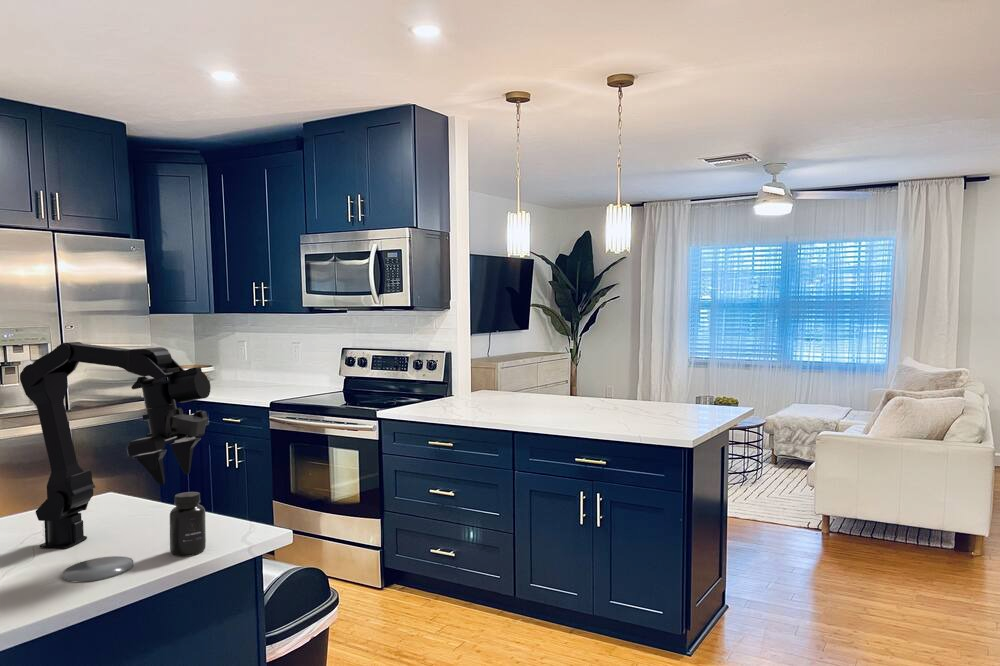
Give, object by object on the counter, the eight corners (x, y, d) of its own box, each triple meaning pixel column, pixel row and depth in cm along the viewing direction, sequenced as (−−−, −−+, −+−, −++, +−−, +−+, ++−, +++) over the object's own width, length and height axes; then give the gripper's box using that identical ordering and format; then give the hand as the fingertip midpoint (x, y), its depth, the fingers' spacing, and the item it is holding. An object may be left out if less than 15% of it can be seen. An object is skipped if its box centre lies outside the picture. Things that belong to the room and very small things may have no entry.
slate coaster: (46, 581, 129) (46, 578, 129) (90, 558, 141) (90, 555, 141) (107, 582, 128) (107, 580, 128) (146, 559, 140) (146, 556, 140)
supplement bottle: (192, 558, 140) (190, 499, 140) (162, 556, 142) (161, 498, 141) (213, 546, 147) (211, 490, 147) (184, 545, 148) (182, 489, 148)
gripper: (169, 406, 136) (184, 484, 136) (219, 394, 155) (232, 463, 155) (118, 415, 138) (133, 492, 138) (173, 402, 156) (186, 470, 156)
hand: (174, 478), depth 147 cm, fingers open, 9 cm apart
